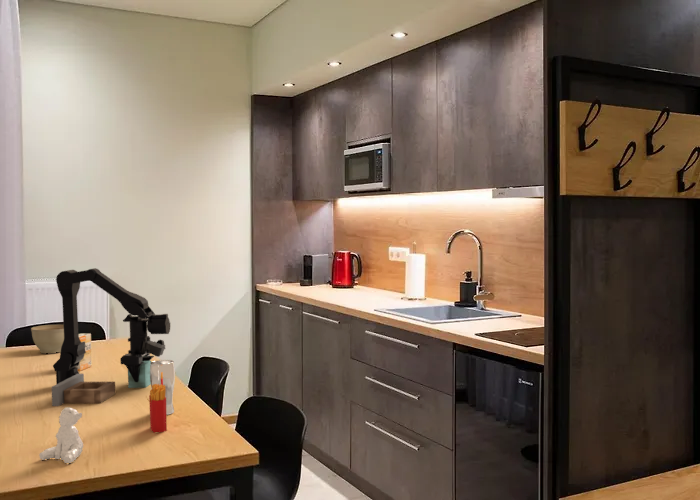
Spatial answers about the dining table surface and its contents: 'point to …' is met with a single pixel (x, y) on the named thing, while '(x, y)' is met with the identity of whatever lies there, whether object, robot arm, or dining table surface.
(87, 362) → the supplement box
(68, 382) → the slab
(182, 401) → the dining table surface
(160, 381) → the beer glass
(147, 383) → the pale teal cube
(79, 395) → the brown square frame
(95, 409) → the dining table surface
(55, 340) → the planter bowl
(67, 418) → the sitting furry creature
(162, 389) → the french fries
